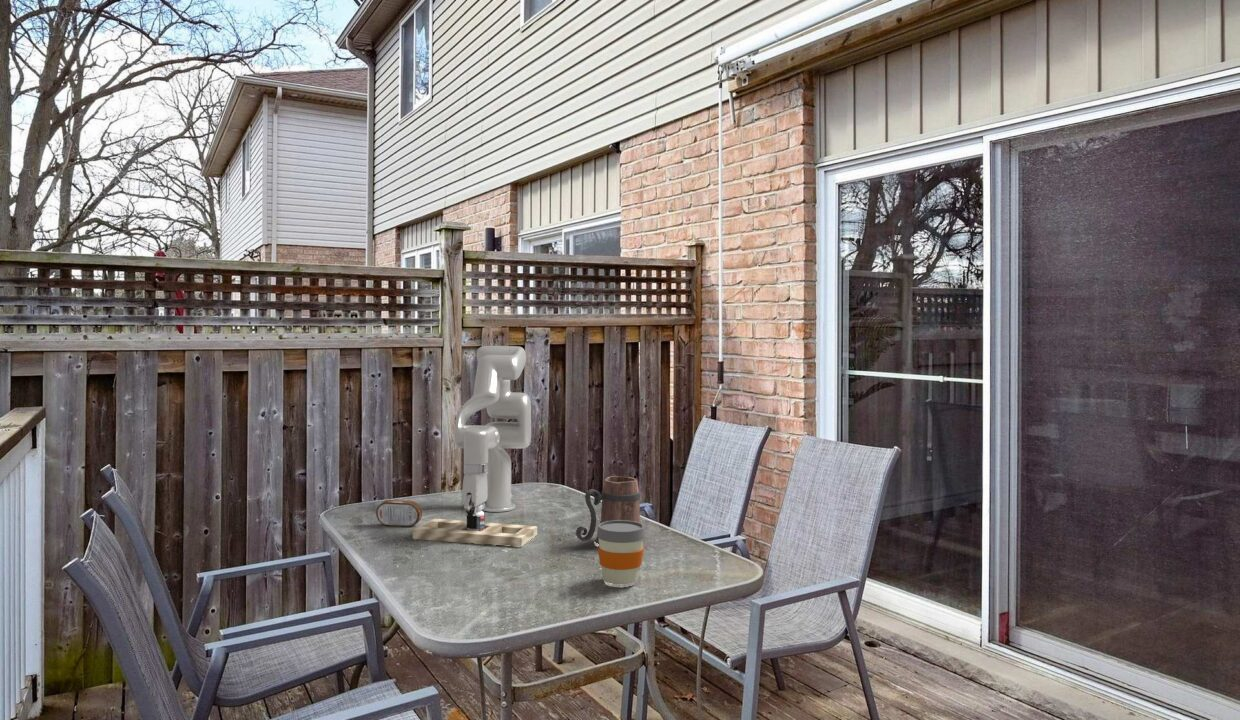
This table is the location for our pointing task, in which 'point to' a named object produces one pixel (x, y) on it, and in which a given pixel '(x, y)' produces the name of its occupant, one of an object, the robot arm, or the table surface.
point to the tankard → (613, 503)
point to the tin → (398, 513)
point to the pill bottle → (479, 519)
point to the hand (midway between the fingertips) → (475, 525)
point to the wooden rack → (475, 533)
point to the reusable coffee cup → (620, 550)
